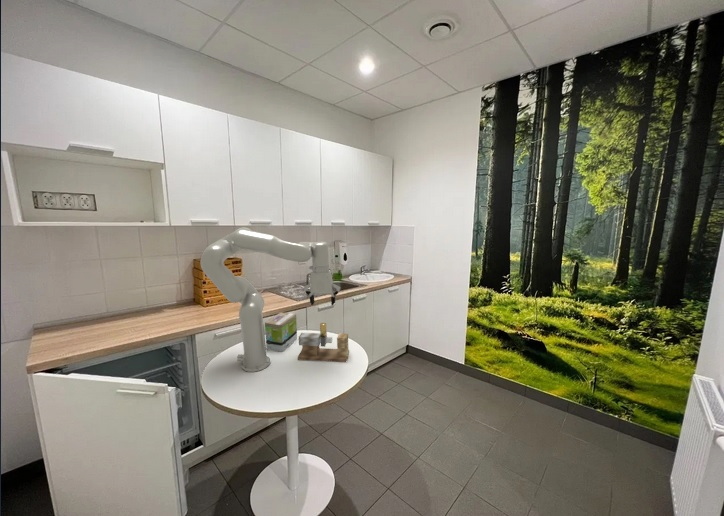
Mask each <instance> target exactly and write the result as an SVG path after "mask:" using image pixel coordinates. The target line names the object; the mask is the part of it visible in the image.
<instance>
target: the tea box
mask: <svg viewBox="0 0 724 516" xmlns="http://www.w3.org/2000/svg"><path fill="white" fill-rule="evenodd" d="M297 329H298V327H297V313H289V312H288V313H287V312H281V311H280V312H278V314H276V315H275V316H273V317H271V318H270V319H268V320H267V321H266V322H264V333H265V344H266V350H269V351H277V352H281V353H282V352H284V351H285V350H287V349H288V348H289V347H290V346H291V344H293V343H294V342H295V341H296V340H297V339H298V330H297Z"/></svg>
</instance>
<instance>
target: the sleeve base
mask: <svg viewBox="0 0 724 516" xmlns="http://www.w3.org/2000/svg"><path fill="white" fill-rule="evenodd" d="M319 337H320V332H317V333H316V332H301V333H300V334H299V336H298V344H299V345H298V346H302V348H301V350H300V352H299V353H298V355H297V361H311V362H312V361H314V362H315V361H316V362H317V361H318V362H335V363H337V362H338V363H347V362H346V361H348V357H349V355H350V354H349V353H350V349H349V348H348V351H349V352H348V355H347V357H338V354H337V348H323V347H322V348H321V347H320V346H321V343H319Z"/></svg>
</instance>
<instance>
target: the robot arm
mask: <svg viewBox="0 0 724 516" xmlns="http://www.w3.org/2000/svg"><path fill="white" fill-rule="evenodd" d="M242 250H245V251H250V252H255V253H260V254H265V255H270V256H273V257H276V258H279V259H283V260H287V261H292V262H295V263H296V262H297V263H305V262H308V261H310V259H311V264H312V265H310V266H309V270H311V272H310V275H309V276H310V278H309V284H307V285H305V286H303V291H304V292H305V293H306V295H308V297H309V303H310V305H311V306H313V305H315V295H330V296H331V297H330V298H331V299H330V301H331V302H330V304H331V306H334V304H336V296H337V295H338V294H339V292H340V290H341V286H339V285H337V284H335V283H334V281H333V275H332V271H331V270H330V259H329V258H330V257H329V244H328V242H327V241H315V242H312V241H299V242H297V243H295V242H289V241H285V240H282V239H281V238H280V237H279V238H278V237H277V236H275V235H273V234H270V233H269V234H268V233H265V232H259V231H254V230H252V229H251V228H249V227H245V226H244V227H239V228H237V229H235V230H234V231H233V232H231V233H229V234H228V235H225V236H223V237H222V238H220V239H218V240H215V242H213V243H211V244H210V245H208V246H207V247H206V248H205V249H204V251H203V252H202V254H201V257H200V261H199V263H200V267H201V270H202V272H203V274H204V275H205V276H206V277H207V278H208V279H209V280H210V281H211V283H212V284H213V285H214V286H215V287H216V288H217V290H218V291H219V292H220V293H221V294H222V295H223V296H224V298H225V299H227V301H229V302H230V303H232V304H236V303H240V304H241V305H240V306H239V310H238V317H239V318H238V319H239V323H240V328H241V335H242V336H241V337H242V345H243V353H242V354H237V362H242V363H241V368H242V370H243V371H245V372H248V373H255V372H258V371H259V372H260V371H263V370H264V369H266V368H267V367H269V366H270V364H271V361H272V360H271V358H270V356H268V355H267V349H266V333H265V323H264V318H263V317H264V316H263V310H264V307H265V300H264V298H263V296H262V295H261V294H260V292H259V291H258V289H256V287H255V286H254V285H253V284H252V283H251V282H250V281H249V279H247V278H245V277H244V276H239V275H237V276H236V275H234V273H233V271H231V270H230V269H229V267H227V266H226V265H225V261H226V260H227V259H228V258H229V257H230V256H233V255H234V254H236V253H238V252H239V251H242ZM308 288H309V289H308ZM334 289H336V290H335V291H334Z"/></svg>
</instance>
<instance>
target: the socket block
mask: <svg viewBox="0 0 724 516" xmlns="http://www.w3.org/2000/svg"><path fill="white" fill-rule="evenodd" d="M336 347H337V348H336V349H337V354H338V357H347V355H348V352H349V353H350V350H349V351H348V349H349V333H344V332H343V333H341V332H339V333H338V335H337V337H336ZM348 356H349V355H348Z"/></svg>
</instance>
